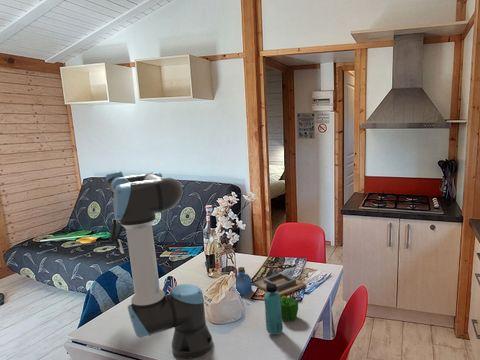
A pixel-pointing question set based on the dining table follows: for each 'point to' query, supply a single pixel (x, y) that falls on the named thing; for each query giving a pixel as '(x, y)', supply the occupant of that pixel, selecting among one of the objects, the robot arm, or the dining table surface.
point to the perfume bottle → (243, 282)
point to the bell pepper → (289, 308)
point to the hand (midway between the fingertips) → (136, 247)
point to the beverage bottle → (273, 310)
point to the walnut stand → (281, 283)
